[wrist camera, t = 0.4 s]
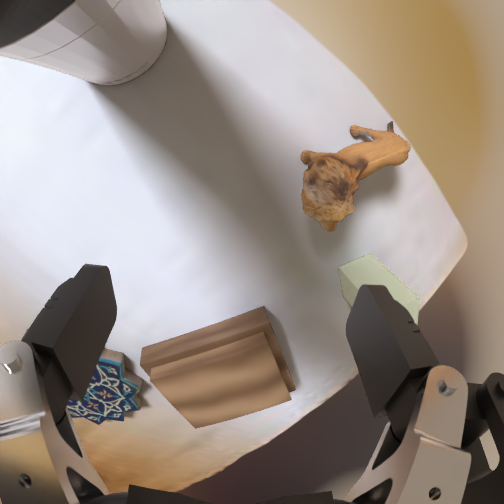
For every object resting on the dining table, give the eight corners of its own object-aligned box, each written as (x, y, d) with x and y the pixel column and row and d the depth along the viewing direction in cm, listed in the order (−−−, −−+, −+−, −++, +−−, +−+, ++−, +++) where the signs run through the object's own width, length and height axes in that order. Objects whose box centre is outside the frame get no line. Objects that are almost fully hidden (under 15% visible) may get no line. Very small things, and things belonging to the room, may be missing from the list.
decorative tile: (37, 397, 35) (34, 407, 33) (8, 308, 28) (1, 318, 26) (143, 421, 40) (142, 432, 38) (143, 338, 33) (141, 351, 31)
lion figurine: (296, 214, 30) (334, 251, 22) (268, 173, 27) (300, 195, 19) (398, 140, 28) (455, 154, 20) (378, 99, 26) (436, 100, 18)
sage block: (338, 266, 33) (382, 316, 24) (370, 253, 33) (419, 297, 25) (343, 295, 35) (382, 347, 26) (373, 282, 36) (416, 328, 27)
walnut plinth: (142, 347, 33) (138, 377, 29) (263, 306, 34) (274, 333, 29) (190, 406, 40) (192, 432, 35) (290, 375, 40) (300, 400, 36)
